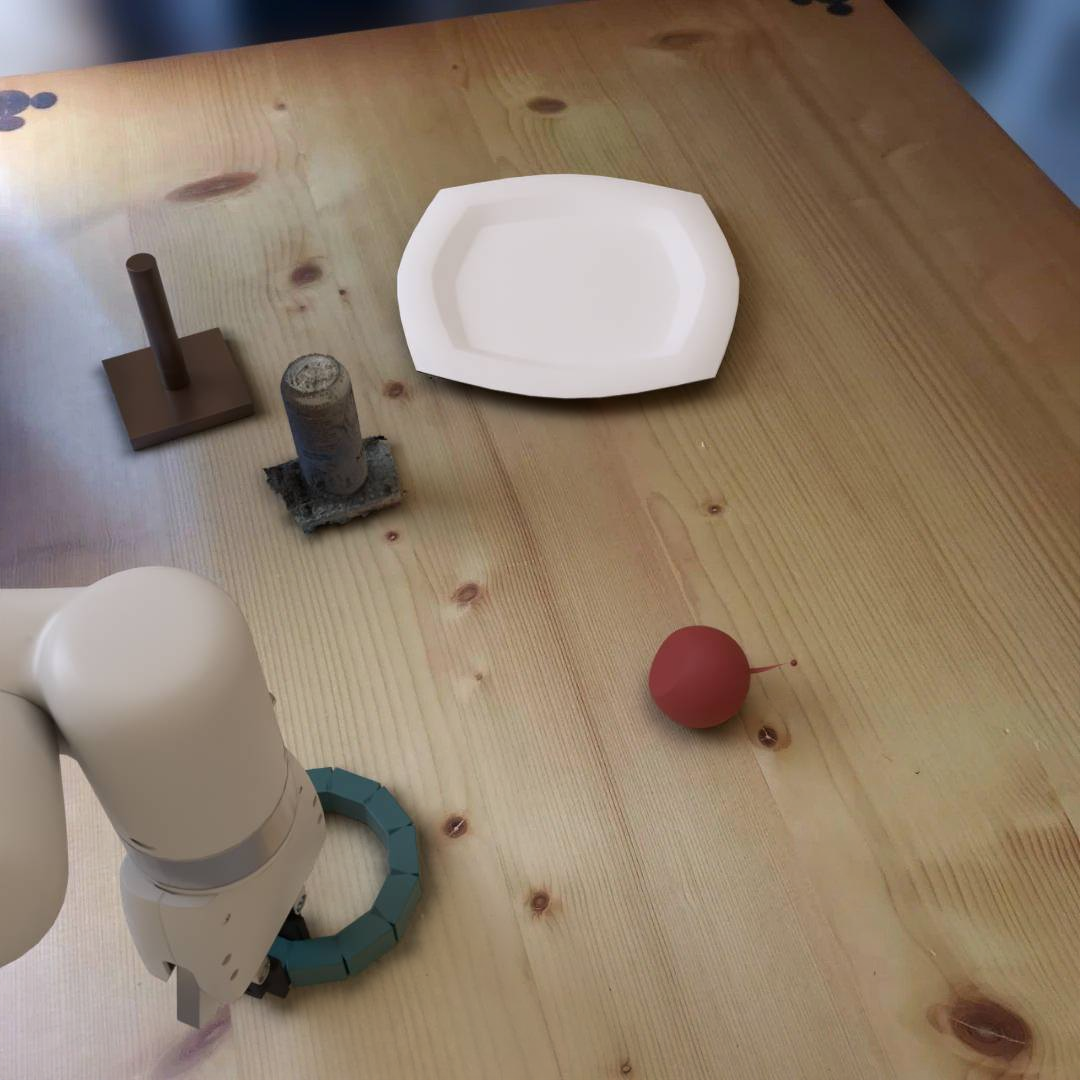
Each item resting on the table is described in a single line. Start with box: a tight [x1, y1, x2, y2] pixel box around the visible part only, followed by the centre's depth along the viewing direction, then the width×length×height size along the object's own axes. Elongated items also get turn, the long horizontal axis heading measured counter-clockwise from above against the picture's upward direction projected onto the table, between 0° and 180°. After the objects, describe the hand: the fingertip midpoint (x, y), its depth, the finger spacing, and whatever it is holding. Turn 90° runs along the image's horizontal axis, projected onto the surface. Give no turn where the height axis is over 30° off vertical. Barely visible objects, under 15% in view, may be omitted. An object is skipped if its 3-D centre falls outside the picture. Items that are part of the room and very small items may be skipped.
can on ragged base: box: [262, 352, 403, 535], centre depth 86 cm, size 9×8×12 cm
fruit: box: [648, 624, 798, 729], centre depth 78 cm, size 6×6×8 cm
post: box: [101, 252, 256, 452], centre depth 92 cm, size 9×9×12 cm
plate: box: [396, 173, 740, 400], centre depth 103 cm, size 27×27×2 cm
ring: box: [267, 766, 423, 988], centre depth 72 cm, size 12×12×2 cm
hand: (273, 961), depth 69 cm, fingers closed on ring, 1 cm apart
